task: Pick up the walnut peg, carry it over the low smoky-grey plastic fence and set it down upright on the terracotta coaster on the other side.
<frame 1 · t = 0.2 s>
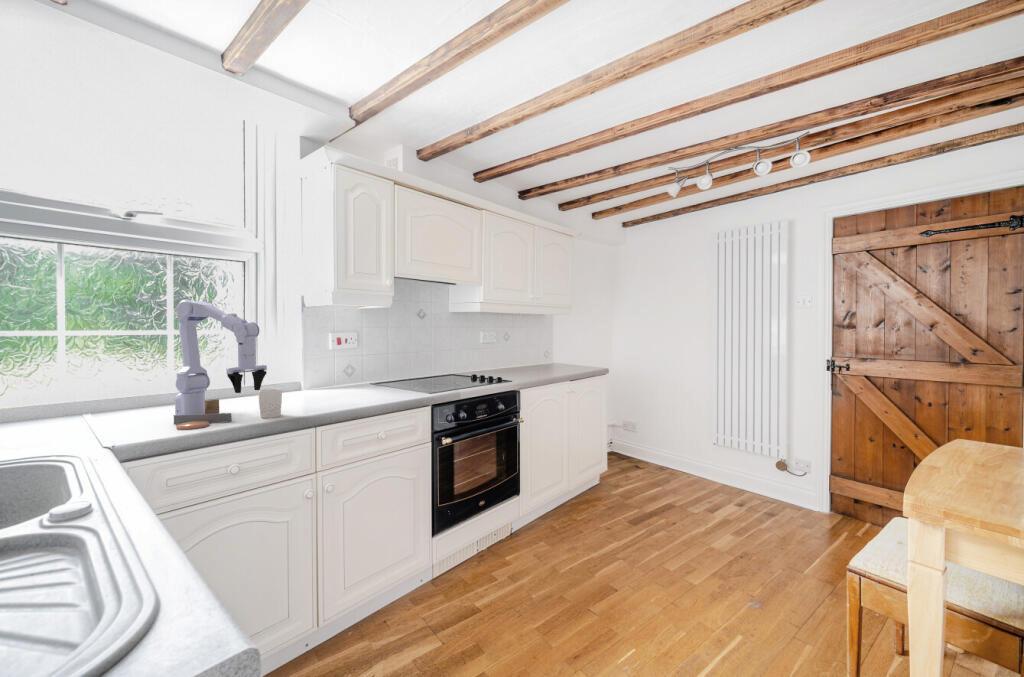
hand: (247, 391, 163), 10 cm above the countertop, fingers open, 7 cm apart
terracotta coaster: (193, 426, 149), on the countertop
smoky grey fence: (203, 422, 155), on the countertop
walnut peg: (212, 419, 161), on the countertop
white cup: (270, 417, 165), on the countertop
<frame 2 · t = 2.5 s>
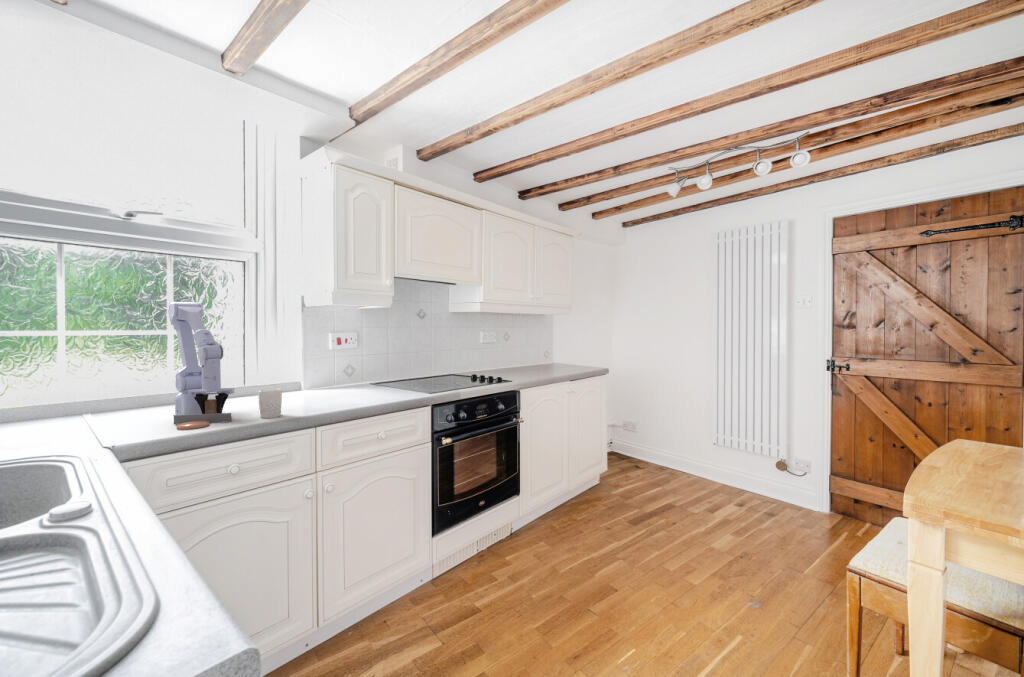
hand: (212, 414, 161), 2 cm above the countertop, fingers closed on walnut peg, 4 cm apart
walnut peg: (212, 419, 161), on the countertop, touching gripper
everything else where it was.
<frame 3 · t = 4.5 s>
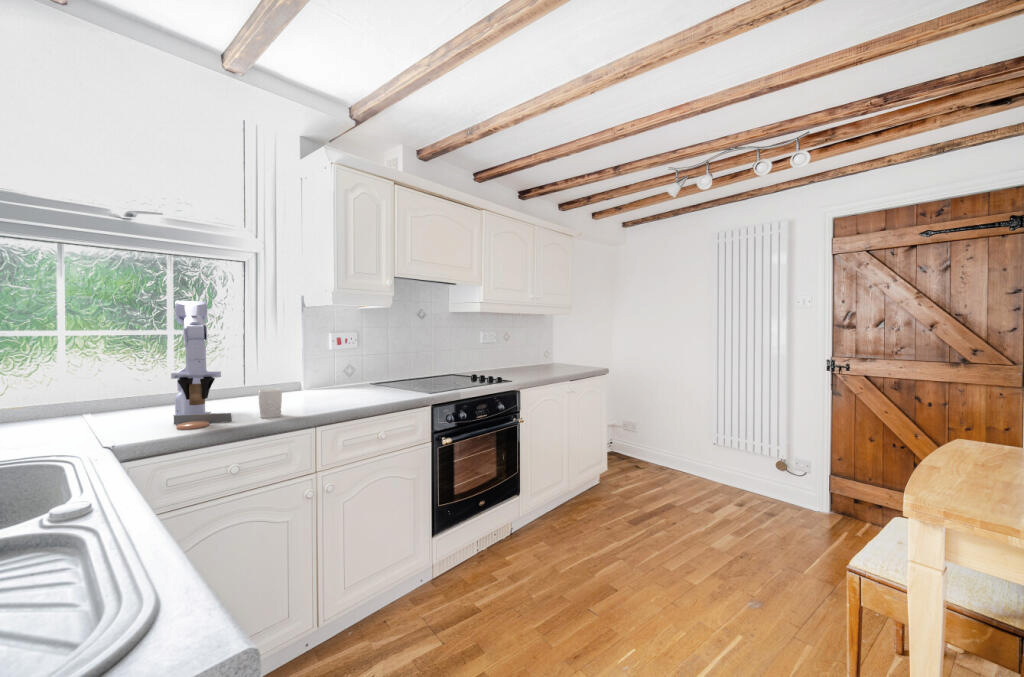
hand: (197, 398, 151), 9 cm above the countertop, fingers closed on walnut peg, 4 cm apart
walnut peg: (197, 404, 151), point 7 cm above the countertop, touching gripper
everything else where it was.
when the fingers open (4 cm above the countertop, at t = 6.5 s): walnut peg drops 1 cm, resting on terracotta coaster.
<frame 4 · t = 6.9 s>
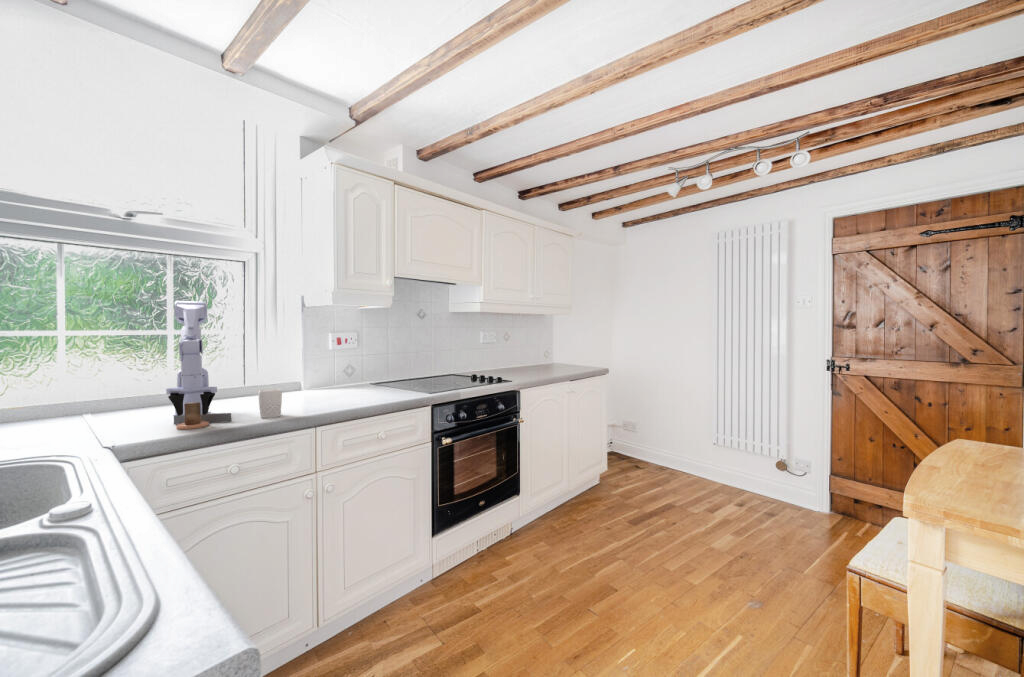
hand: (192, 414, 148), 4 cm above the countertop, fingers open, 7 cm apart
walnut peg: (192, 423, 149), point 1 cm above the countertop, touching terracotta coaster
everything else where it was.
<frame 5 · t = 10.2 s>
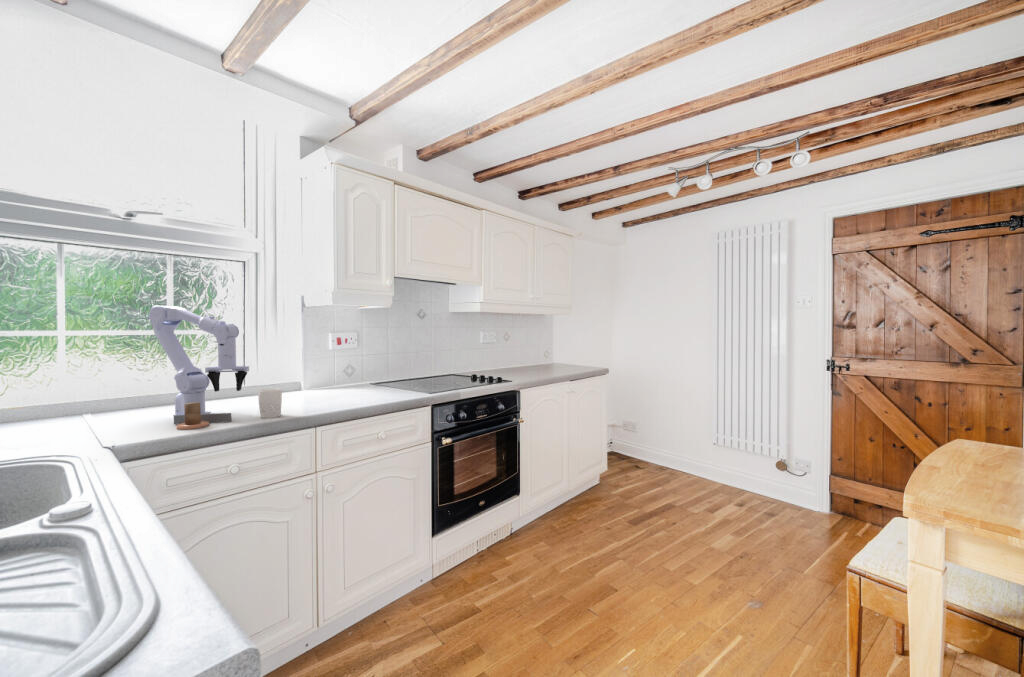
hand: (227, 390, 168), 9 cm above the countertop, fingers open, 7 cm apart
nothing on the countertop moved.
at the end: walnut peg 0.0 cm off-centre on the terracotta coaster, point 1.0 cm above the terracotta coaster's base; walnut peg tilted 0°; the gripper is holding nothing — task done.
